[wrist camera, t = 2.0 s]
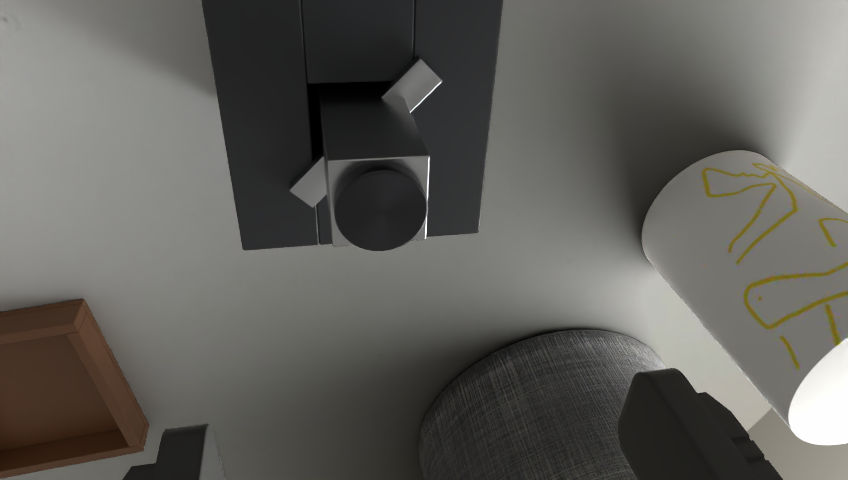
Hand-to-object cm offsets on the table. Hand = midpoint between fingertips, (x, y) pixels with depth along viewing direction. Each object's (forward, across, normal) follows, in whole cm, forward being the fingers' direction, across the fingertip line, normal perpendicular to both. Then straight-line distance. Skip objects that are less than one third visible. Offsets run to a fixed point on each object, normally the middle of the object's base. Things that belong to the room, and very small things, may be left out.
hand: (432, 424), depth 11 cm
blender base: (+28, 0, 0) cm, 28 cm away
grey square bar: (+22, 0, 0) cm, 22 cm away
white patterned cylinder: (+28, -29, +15) cm, 43 cm away
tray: (+28, +23, +25) cm, 44 cm away
